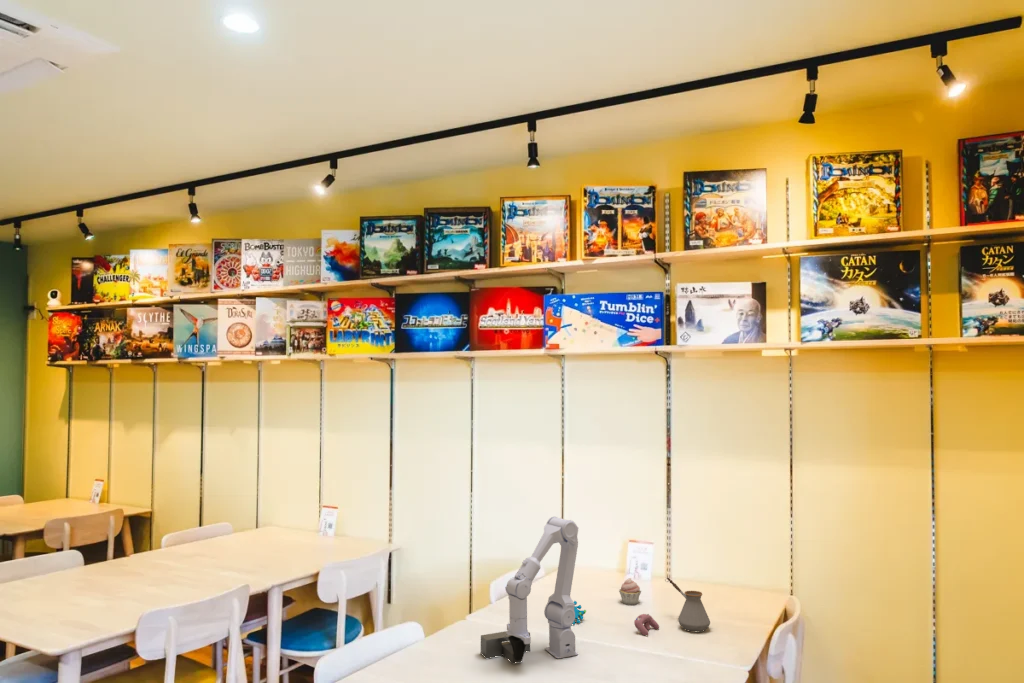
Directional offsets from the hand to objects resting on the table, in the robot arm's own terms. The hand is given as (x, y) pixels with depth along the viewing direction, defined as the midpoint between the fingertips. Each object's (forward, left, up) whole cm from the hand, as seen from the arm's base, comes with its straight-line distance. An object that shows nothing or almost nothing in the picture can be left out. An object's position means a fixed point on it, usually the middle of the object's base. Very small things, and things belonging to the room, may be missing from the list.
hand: (518, 659), depth 220 cm
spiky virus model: (+28, -35, -2) cm, 45 cm away
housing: (+11, 0, -1) cm, 11 cm away
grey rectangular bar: (+7, 0, -1) cm, 7 cm away
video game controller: (+8, -55, -2) cm, 55 cm away
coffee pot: (+8, -72, -2) cm, 72 cm away
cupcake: (+39, -68, -2) cm, 78 cm away
